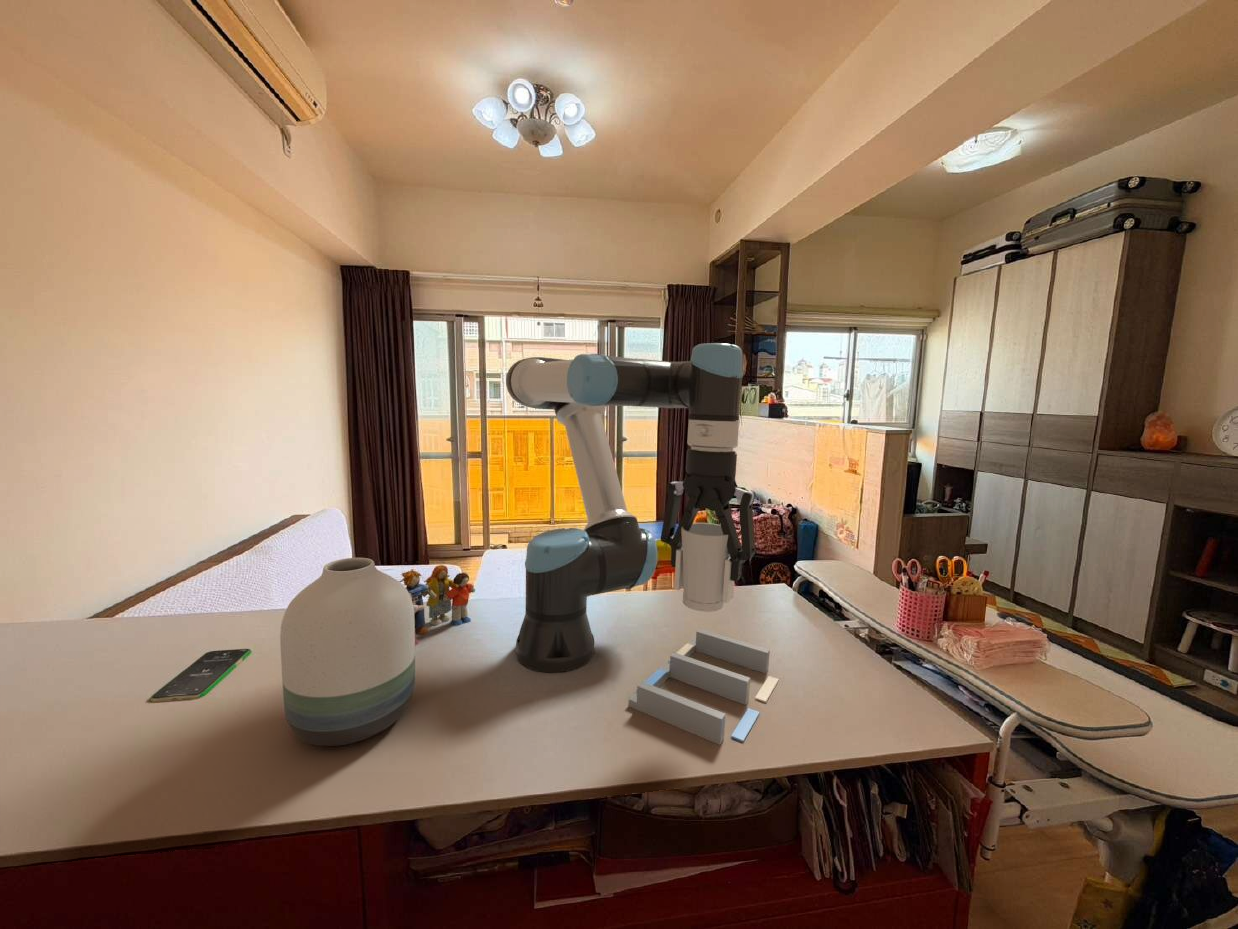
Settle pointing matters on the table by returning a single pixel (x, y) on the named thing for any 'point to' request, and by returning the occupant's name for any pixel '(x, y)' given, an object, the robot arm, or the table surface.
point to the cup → (704, 566)
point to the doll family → (438, 597)
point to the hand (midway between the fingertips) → (703, 593)
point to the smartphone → (201, 675)
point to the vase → (347, 654)
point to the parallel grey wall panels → (705, 686)
